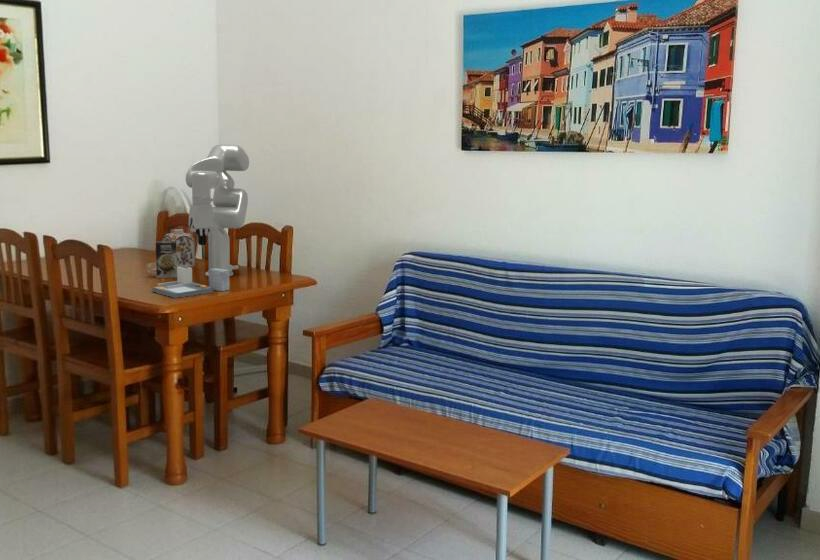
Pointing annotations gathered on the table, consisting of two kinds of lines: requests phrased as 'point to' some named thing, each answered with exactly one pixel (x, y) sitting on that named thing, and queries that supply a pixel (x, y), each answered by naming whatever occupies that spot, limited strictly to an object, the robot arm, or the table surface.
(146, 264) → the table surface
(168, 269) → the coffee box
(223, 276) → the medicine box
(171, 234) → the decorative jar
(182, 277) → the toggle
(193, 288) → the panel
